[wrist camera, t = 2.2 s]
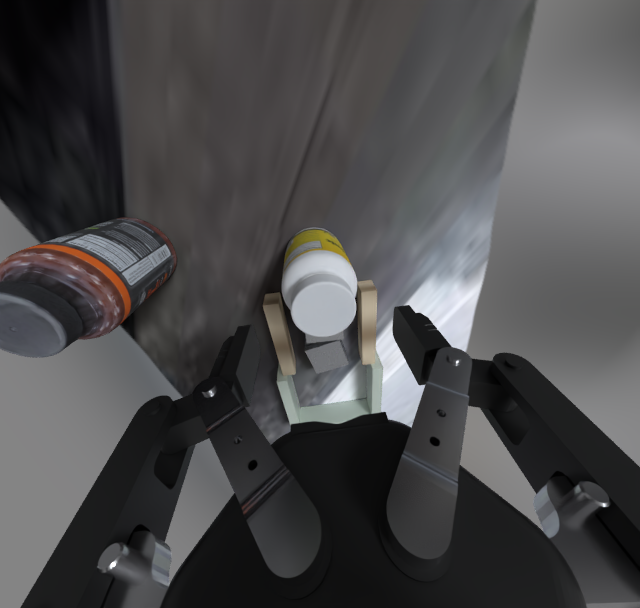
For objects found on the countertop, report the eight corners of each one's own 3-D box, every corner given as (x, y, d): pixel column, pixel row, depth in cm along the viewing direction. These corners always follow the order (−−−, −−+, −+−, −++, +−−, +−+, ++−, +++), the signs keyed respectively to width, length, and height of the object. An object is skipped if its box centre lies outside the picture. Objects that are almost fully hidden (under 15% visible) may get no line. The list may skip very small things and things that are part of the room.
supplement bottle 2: (349, 267, 23) (377, 329, 15) (300, 287, 24) (300, 357, 16) (330, 215, 20) (352, 256, 12) (275, 240, 21) (260, 293, 13)
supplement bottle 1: (153, 291, 23) (50, 387, 13) (89, 243, 20) (-98, 323, 11) (194, 256, 21) (110, 336, 12) (131, 199, 19) (-45, 245, 9)
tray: (278, 362, 29) (276, 382, 27) (375, 349, 30) (383, 367, 27) (293, 413, 35) (293, 433, 33) (374, 402, 35) (380, 421, 33)
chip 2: (304, 336, 28) (304, 351, 26) (336, 326, 27) (339, 340, 25) (315, 358, 30) (317, 373, 28) (345, 349, 29) (349, 364, 27)
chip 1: (301, 299, 25) (302, 313, 23) (338, 295, 25) (342, 308, 23) (305, 329, 27) (306, 343, 25) (339, 325, 27) (343, 339, 25)
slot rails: (265, 294, 24) (262, 305, 22) (371, 279, 24) (377, 290, 22) (284, 362, 29) (283, 375, 28) (370, 350, 30) (375, 363, 28)
